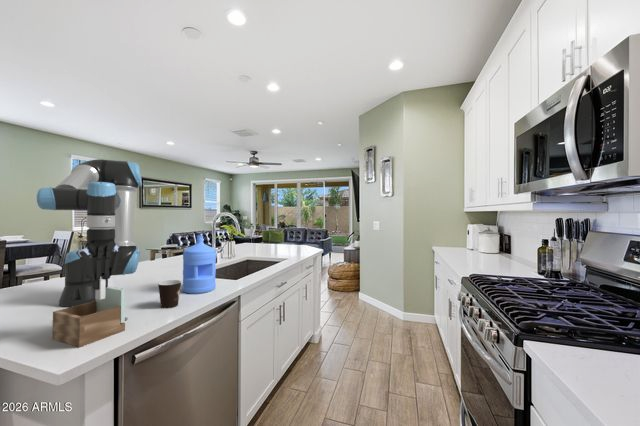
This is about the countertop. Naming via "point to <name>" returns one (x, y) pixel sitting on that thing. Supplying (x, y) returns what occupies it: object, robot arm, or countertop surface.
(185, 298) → the countertop surface
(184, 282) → the water jug
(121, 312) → the cabinet door
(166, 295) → the coffee mug
